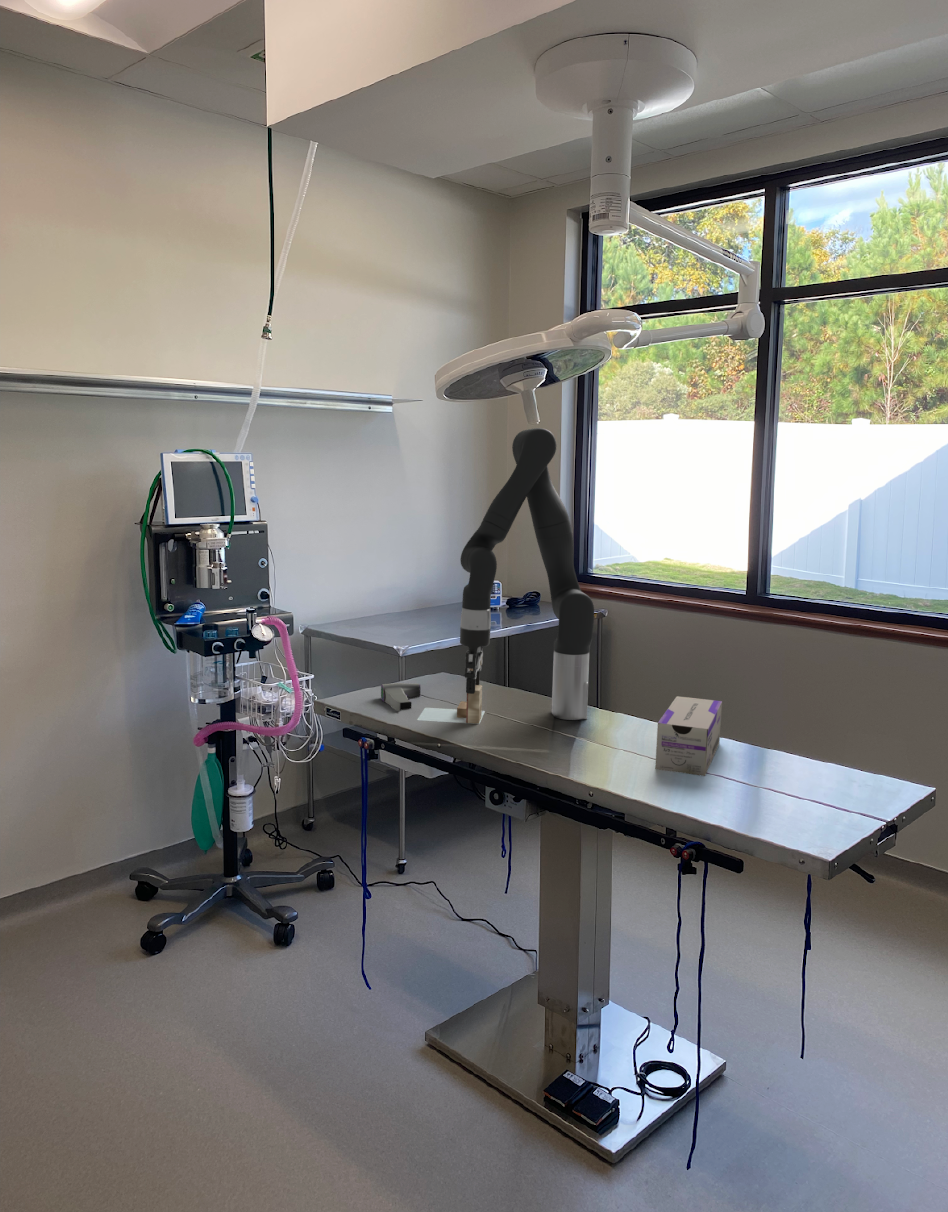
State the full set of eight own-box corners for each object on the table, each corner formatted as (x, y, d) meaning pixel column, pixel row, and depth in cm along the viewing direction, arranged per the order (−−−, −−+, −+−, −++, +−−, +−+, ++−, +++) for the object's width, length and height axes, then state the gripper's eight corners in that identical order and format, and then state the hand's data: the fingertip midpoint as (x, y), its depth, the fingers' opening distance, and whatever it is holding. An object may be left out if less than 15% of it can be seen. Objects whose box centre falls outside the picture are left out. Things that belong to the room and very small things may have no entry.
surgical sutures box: (674, 738, 226) (676, 696, 224) (719, 744, 222) (722, 701, 221) (655, 770, 203) (657, 722, 202) (705, 777, 199) (708, 729, 198)
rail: (469, 710, 244) (469, 701, 244) (466, 717, 237) (466, 708, 237) (460, 710, 244) (460, 701, 244) (456, 717, 238) (457, 708, 237)
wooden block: (481, 717, 238) (482, 685, 237) (478, 723, 232) (479, 690, 231) (469, 716, 238) (469, 684, 237) (466, 722, 233) (466, 690, 232)
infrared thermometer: (395, 716, 244) (377, 698, 257) (438, 712, 249) (418, 695, 262) (396, 699, 243) (377, 683, 256) (439, 695, 248) (418, 679, 261)
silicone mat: (485, 713, 244) (485, 710, 244) (479, 726, 233) (479, 723, 232) (425, 709, 246) (425, 707, 246) (416, 722, 234) (416, 720, 234)
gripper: (487, 632, 224) (484, 697, 227) (493, 622, 238) (490, 683, 241) (456, 630, 225) (453, 695, 228) (464, 620, 239) (462, 681, 242)
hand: (472, 689), depth 234 cm, fingers open, 8 cm apart
